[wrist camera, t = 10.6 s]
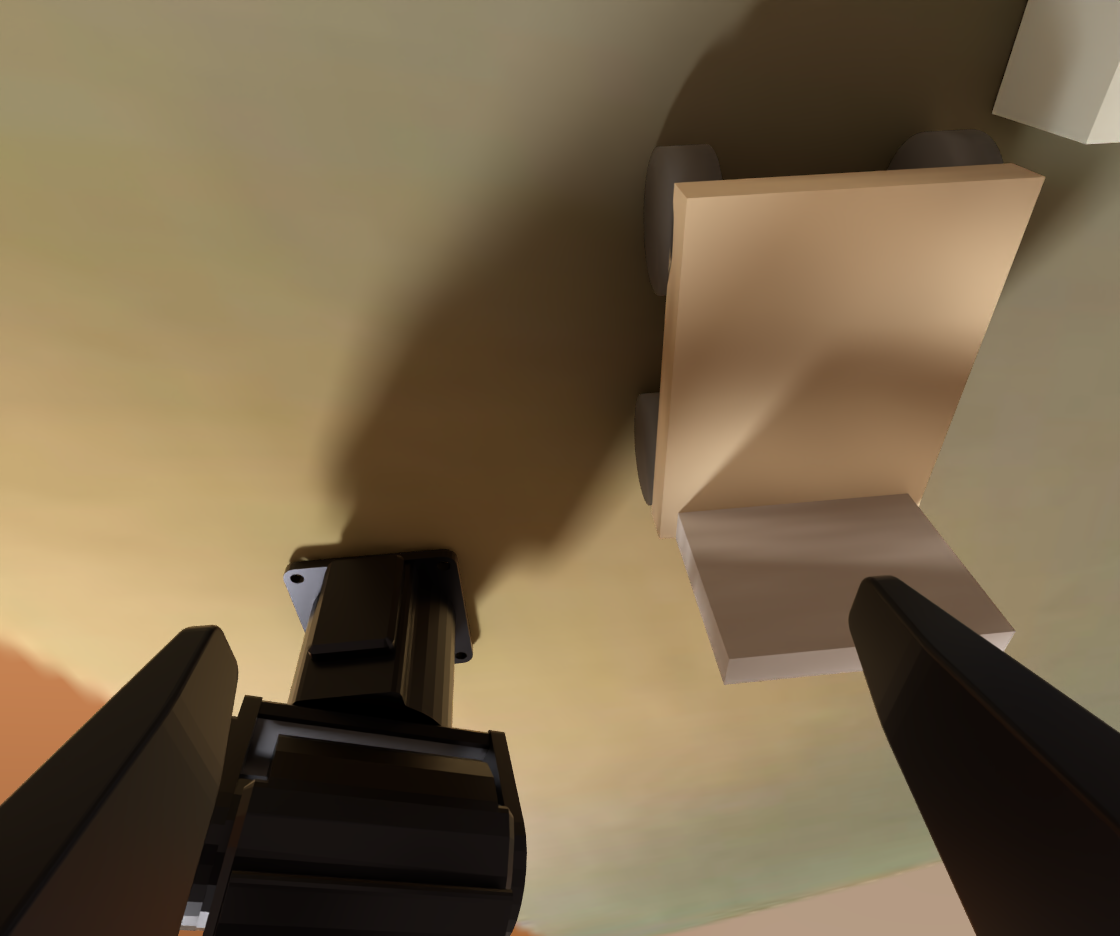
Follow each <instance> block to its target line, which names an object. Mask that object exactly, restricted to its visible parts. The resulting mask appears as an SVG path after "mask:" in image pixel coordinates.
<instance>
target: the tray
mask: <svg viewBox="0 0 1120 936" xmlns="http://www.w3.org/2000/svg"><path fill="white" fill-rule="evenodd" d="M992 114H995V115H998V116H1001V117H1004V118H1007V119H1010V120H1013V121H1016V122H1019V123H1022V124H1025V125H1028V126H1031V127H1034V128H1037V129H1040V130H1044V131H1047V132H1050V133H1053V134H1056V135H1059V136H1062V137H1065V138H1068V139H1071V140H1074V141H1077V142H1080V143H1083V144H1100V143H1117V142H1120V0H1028V3H1027V6H1026V9H1025V12H1024V15H1023V18H1022V21H1021V24H1020V27H1019V31H1018V34H1017V37H1016V40H1015V43H1014V46H1013V49H1012V52H1011V55H1010V58H1009V62H1008V65H1007V68H1006V71H1005V74H1004V77H1003V80H1002V83H1001V86H1000V89H999V93H998V96H997V99H996V102H995V105H994V108H993V111H992Z"/></svg>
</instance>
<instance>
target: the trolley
mask: <svg viewBox="0 0 1120 936" xmlns="http://www.w3.org/2000/svg"><path fill="white" fill-rule="evenodd" d="M1044 180H1045V176H1042V175H1040V174H1037V173H1035V172H1032V171H1030V170H1027V169H1025V168H1023V167H1020V166H1018V165H1015V164H1013V163H1006V164H1003V160H1002V157H1001V154H1000V151H999V149H998V147H997V145H996V143H995V142H994V141H993V140H992V138H991V137H990V136H988V135H987V134H986V133H984V132H982V131H980V130H976V129H966V130H948V131H930V132H921V133H917V134H915V135H913V136H912V137H910V138H909V139H908V140H907V141H906V142H905V143H904V144H903V145H902V146H901V147H900V148H899V150H898V151H897V152H896V154H895V155H894V157H893V159H892V161H891V163H890V165H889V167H888V169H887V170H886V171H869V172H852V173H835V174H818V175H801V176H784V177H767V178H750V179H733V180H722V175H721V170H720V165H719V162H718V158H717V156H716V153H715V151H714V150H713V148H712V147H711V146H710V145H708V144H697V145H679V146H661V147H656V148H655V149H654V150H653V152H652V155H651V157H650V161H649V165H648V170H647V176H646V184H645V195H644V242H645V254H646V262H647V269H648V274H649V278H650V282H651V285H652V288H653V290H654V292H655V293H656V294H657V295H658V296H664V295H667V297H666V311H665V326H664V340H663V355H662V369H661V384H660V392H657V393H644V394H640V395H639V396H638V398H637V402H636V408H635V423H634V434H635V452H636V462H637V470H638V476H639V482H640V486H641V490H642V494H643V497H644V499H645V501H646V503H647V504H648V505H652V516H653V519H654V523H655V526H656V529H657V533H658V536H659V539H666V538H676V540H677V543H678V546H679V549H680V552H681V555H682V558H683V561H684V564H685V567H686V570H687V573H688V577H689V580H690V583H691V586H692V589H693V592H694V595H695V598H696V601H697V604H698V607H699V610H700V613H701V616H702V619H703V622H704V625H705V628H706V631H707V634H708V637H709V640H710V643H711V646H712V649H713V652H714V655H715V659H716V662H717V665H718V668H719V671H720V674H721V677H722V680H723V683H724V685H726V684H736V683H746V682H756V681H766V680H776V679H786V678H796V677H806V676H816V675H826V674H836V673H846V672H856V671H863V670H862V667H861V663H860V660H859V657H858V654H857V651H856V648H855V645H854V642H853V639H852V636H851V633H850V630H849V625H848V616H849V611H850V609H851V606H852V604H853V601H854V598H855V596H856V593H857V590H858V588H859V585H860V583H861V581H862V580H863V579H864V578H865V577H868V576H880V575H892V576H895V577H897V578H899V579H900V580H902V581H903V582H905V583H906V584H908V585H909V586H910V587H912V588H913V589H915V590H916V591H918V592H919V593H920V594H922V595H923V596H925V597H926V598H928V599H929V600H930V601H932V602H933V603H935V604H936V605H938V606H939V607H940V608H942V609H943V610H945V611H946V612H948V613H949V614H950V615H952V616H953V617H955V618H956V619H958V620H959V621H960V622H962V623H963V624H965V625H966V626H968V627H969V628H970V629H972V630H973V631H975V632H976V633H978V634H979V635H981V636H982V637H983V638H985V639H986V640H988V641H989V642H991V643H992V644H993V645H995V646H996V647H998V648H999V649H1001V650H1002V651H1003V652H1004V650H1005V648H1006V647H1007V645H1008V643H1009V642H1010V640H1011V638H1012V637H1013V635H1014V633H1015V630H1014V629H1013V627H1012V626H1011V625H1010V623H1009V622H1008V621H1007V620H1006V618H1005V617H1004V616H1003V614H1002V613H1001V612H1000V611H999V609H998V608H997V607H996V606H995V604H994V603H993V602H992V600H991V599H990V598H989V597H988V595H987V594H986V593H985V591H984V590H983V589H982V588H981V586H980V585H979V584H978V582H977V581H976V580H975V579H974V577H973V576H972V575H971V573H970V572H969V571H968V570H967V568H966V567H965V566H964V565H963V563H962V562H961V561H960V559H959V558H958V557H957V556H956V554H955V553H954V552H953V550H952V549H951V548H950V547H949V545H948V544H947V543H946V541H945V540H944V539H943V538H942V536H941V535H940V534H939V532H938V531H937V530H936V529H935V527H934V526H933V525H932V524H931V522H930V521H929V520H928V518H927V517H926V516H925V515H924V513H923V512H922V511H921V509H920V508H919V507H918V506H919V504H920V501H921V499H922V496H923V493H924V491H925V488H926V486H927V483H928V480H929V478H930V475H931V473H932V470H933V468H934V465H935V462H936V460H937V457H938V455H939V452H940V449H941V447H942V444H943V442H944V439H945V436H946V434H947V431H948V429H949V426H950V423H951V421H952V418H953V416H954V413H955V411H956V408H957V405H958V403H959V400H960V398H961V395H962V392H963V390H964V387H965V385H966V382H967V379H968V377H969V374H970V372H971V369H972V366H973V364H974V361H975V359H976V356H977V354H978V351H979V348H980V346H981V343H982V341H983V338H984V335H985V333H986V330H987V328H988V325H989V322H990V320H991V317H992V315H993V312H994V309H995V307H996V304H997V302H998V299H999V296H1000V294H1001V291H1002V289H1003V286H1004V284H1005V281H1006V278H1007V276H1008V273H1009V271H1010V268H1011V265H1012V263H1013V260H1014V258H1015V255H1016V252H1017V250H1018V247H1019V245H1020V242H1021V239H1022V237H1023V234H1024V232H1025V229H1026V227H1027V224H1028V221H1029V219H1030V216H1031V214H1032V211H1033V208H1034V206H1035V203H1036V201H1037V198H1038V195H1039V193H1040V190H1041V188H1042V185H1043V182H1044Z"/></svg>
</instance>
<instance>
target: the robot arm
mask: <svg viewBox="0 0 1120 936" xmlns="http://www.w3.org/2000/svg"><path fill="white" fill-rule="evenodd" d="M442 561H446V562H448V563H441V562H442ZM295 574H299V575H301V576H297V575H295ZM283 578H284V582H285V584H286V587H287V589H288V592H289V594H290V597H291V599H292V602H293V604H294V607H295V609H296V612H297V614H298V617H299V619H300V622H301V624H302V626H303V629H304V631H305V636H304V640H303V644H302V648H301V652H300V655H299V659H298V663H297V667H296V671H295V675H294V679H293V683H292V687H291V691H290V695H289V698H288V702H287V704H284V703H277V702H271V701H264V700H262V698H263V697H256V696H250V695H245V697H244V700H243V703H242V706H241V709H240V712H239V714H238V717H235V716H232V712H233V706H234V700H235V694H236V688H237V682H238V665H237V662H236V659H235V657H234V655H233V653H232V650H231V648H230V646H229V644H228V642H227V640H226V638H225V635H224V633H223V631H222V630H221V628H219V627H218V626H216V625H205V626H192V627H187V628H185V629H183V630H182V631H181V632H179V633H178V634H177V635H176V636H175V637H174V638H173V639H172V640H171V641H170V642H169V643H168V644H167V645H166V646H165V647H164V648H163V649H162V650H161V651H160V652H159V653H158V654H157V655H155V656H154V657H153V658H152V659H151V660H150V661H149V662H148V663H147V664H146V665H145V666H144V667H143V668H142V669H141V670H140V671H139V672H138V673H137V674H136V675H135V676H134V677H133V678H132V679H131V680H130V681H129V682H128V683H126V684H125V685H124V686H123V687H122V688H121V689H120V690H119V691H118V692H117V693H116V694H115V695H114V696H113V697H112V698H111V699H110V700H109V701H108V702H107V703H106V704H105V705H104V706H103V707H102V708H101V709H100V710H99V711H98V712H96V714H94V715H93V716H92V717H91V718H90V719H89V720H88V721H87V722H86V723H85V724H84V725H83V726H82V727H81V728H80V729H79V730H78V731H77V732H76V733H75V734H74V735H73V736H72V737H71V738H70V739H69V740H67V741H66V742H65V743H64V744H63V745H62V746H61V747H60V748H59V749H58V750H57V751H56V752H55V753H54V754H53V755H52V756H51V757H50V758H49V759H48V760H47V761H46V762H45V763H44V764H43V765H42V766H41V767H40V768H38V769H37V770H36V771H35V772H34V773H33V774H32V775H31V776H30V777H29V778H28V779H27V780H26V781H25V782H24V783H23V784H22V785H21V786H20V787H19V788H18V789H17V790H16V791H15V792H14V793H13V794H12V795H11V796H10V797H8V798H7V799H6V800H5V801H4V802H3V803H2V804H1V805H0V936H178V934H179V930H193V931H195V930H204V932H203V936H510V935H511V933H512V931H513V929H514V926H515V924H516V921H517V918H518V915H519V911H520V907H521V903H522V897H523V892H524V885H525V876H526V859H527V847H526V833H525V826H524V820H523V816H522V811H521V807H520V802H519V797H518V793H517V788H516V783H515V779H514V774H513V769H512V765H511V760H510V755H509V751H508V746H507V741H506V737H505V733H504V732H499V731H492V730H489V731H488V732H480V731H473V730H466V729H459V728H452V714H453V687H454V664H456V663H464V662H468V661H469V660H471V659H472V657H473V645H472V639H471V634H470V628H469V622H468V616H467V610H466V605H465V599H464V593H463V587H462V582H461V576H460V570H459V564H458V559H457V556H456V554H455V553H454V552H453V551H450V550H447V549H439V550H428V551H416V552H405V553H393V554H382V555H370V556H359V557H347V558H336V559H324V560H312V561H301V562H294V563H290V564H289V565H287V567H286V570H285V573H284V576H283ZM848 625H849V630H850V633H851V636H852V639H853V642H854V645H855V648H856V651H857V654H858V657H859V660H860V663H861V667H862V670H863V673H864V676H865V679H866V682H867V685H868V688H869V691H870V694H871V697H872V700H873V703H874V706H875V709H876V712H877V715H878V717H879V720H880V723H881V726H882V728H883V730H884V733H885V735H886V737H887V740H888V742H889V744H890V747H891V749H892V751H893V753H894V755H895V758H896V760H897V762H898V764H899V766H900V769H901V771H902V773H903V775H904V777H905V780H906V782H907V784H908V786H909V788H910V791H911V793H912V795H913V797H914V799H915V802H916V804H917V806H918V808H919V810H920V813H921V815H922V817H923V819H924V821H925V824H926V826H927V828H928V830H929V832H930V835H931V837H932V839H933V841H934V844H935V846H936V848H937V850H938V852H939V855H940V857H941V859H942V861H943V863H944V866H945V868H946V870H947V872H948V874H949V876H950V879H951V881H952V883H953V885H954V888H955V890H956V892H957V894H958V896H959V898H960V900H961V903H962V905H963V907H964V910H965V912H966V914H967V916H968V918H969V920H970V923H971V925H972V927H973V929H974V932H975V933H976V936H1120V733H1119V732H1118V731H1116V730H1115V729H1114V728H1112V727H1111V726H1109V725H1108V724H1106V723H1105V722H1104V721H1102V720H1101V719H1099V718H1098V717H1096V716H1095V715H1094V714H1092V713H1091V712H1089V711H1088V710H1086V709H1085V708H1084V707H1082V706H1081V705H1079V704H1078V703H1076V702H1075V701H1074V700H1072V699H1071V698H1069V697H1068V696H1066V695H1065V694H1063V693H1062V692H1061V691H1059V690H1058V689H1056V688H1055V687H1053V686H1052V685H1051V684H1049V683H1048V682H1046V681H1045V680H1043V679H1042V678H1041V677H1039V676H1038V675H1036V674H1035V673H1033V672H1032V671H1031V670H1029V669H1028V668H1026V667H1025V666H1023V665H1022V664H1021V663H1019V662H1018V661H1016V660H1015V659H1013V658H1012V657H1011V656H1009V655H1008V654H1006V653H1005V652H1003V651H1002V650H1001V649H999V648H998V647H996V646H995V645H993V644H992V643H991V642H989V641H988V640H986V639H985V638H983V637H982V636H981V635H979V634H978V633H976V632H975V631H973V630H972V629H970V628H969V627H968V626H966V625H965V624H963V623H962V622H960V621H959V620H958V619H956V618H955V617H953V616H952V615H950V614H949V613H948V612H946V611H945V610H943V609H942V608H940V607H939V606H938V605H936V604H935V603H933V602H932V601H930V600H929V599H928V598H926V597H925V596H923V595H922V594H920V593H919V592H918V591H916V590H915V589H913V588H912V587H910V586H909V585H908V584H906V583H905V582H903V581H902V580H900V579H899V578H897V577H895V576H892V575H880V576H868V577H865V578H864V579H863V580H862V581H861V583H860V585H859V588H858V590H857V593H856V596H855V598H854V601H853V604H852V606H851V609H850V611H849V616H848Z"/></svg>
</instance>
